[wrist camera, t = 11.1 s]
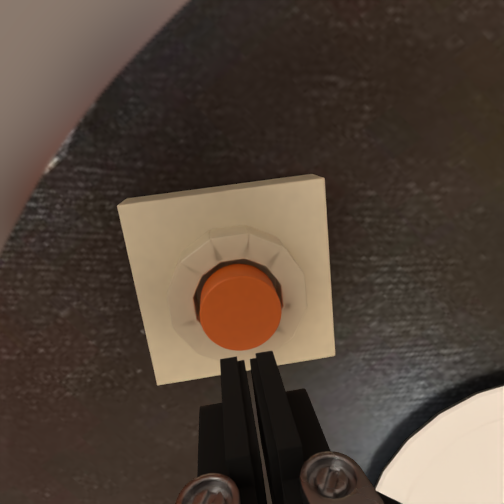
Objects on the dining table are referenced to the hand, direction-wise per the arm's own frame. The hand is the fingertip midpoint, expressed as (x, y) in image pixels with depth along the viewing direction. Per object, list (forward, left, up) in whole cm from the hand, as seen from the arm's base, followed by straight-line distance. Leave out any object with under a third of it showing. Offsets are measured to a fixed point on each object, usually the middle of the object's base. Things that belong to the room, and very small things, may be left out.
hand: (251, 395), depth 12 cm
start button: (0, 0, -7) cm, 7 cm away
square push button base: (0, 0, -10) cm, 10 cm away
